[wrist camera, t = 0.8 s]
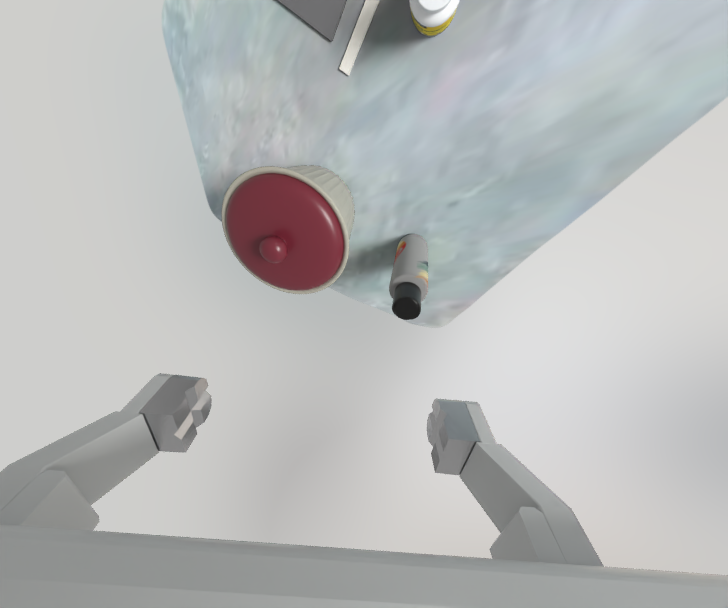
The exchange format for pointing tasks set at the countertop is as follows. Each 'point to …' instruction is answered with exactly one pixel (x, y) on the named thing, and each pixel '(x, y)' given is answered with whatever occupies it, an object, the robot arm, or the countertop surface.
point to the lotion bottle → (409, 277)
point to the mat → (318, 13)
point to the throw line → (358, 35)
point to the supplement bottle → (432, 15)
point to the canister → (290, 226)
